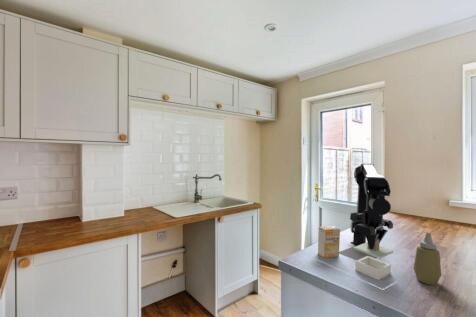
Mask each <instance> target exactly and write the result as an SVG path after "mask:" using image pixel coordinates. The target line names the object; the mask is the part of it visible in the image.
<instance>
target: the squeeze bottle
mask: <svg viewBox="0 0 476 317" xmlns="http://www.w3.org/2000/svg"><path fill="white" fill-rule="evenodd" d="M440 256H441V254H440V251H439V249H437V244H436V242H433V238H432V234H431V232H428V231H427V232H425V236H424V238H423V240H420V241H419V245H418V246H416V251H415V256H414V263H413V271H414V274H415V278H416V280H418V281H419V282H421V283H423V284H426V285H433V286H434V285H437V284H438V283H439V281H440V278H441V277H442V268H441V267H442V266H441V257H440Z"/></svg>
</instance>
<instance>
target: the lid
mask: <svg viewBox="0 0 476 317" xmlns="http://www.w3.org/2000/svg"><path fill="white" fill-rule="evenodd" d="M379 241H380V239H377V241H376V243H375V245H374V248H373V249H370V248H369V245H368V242H367V241H366V243H364V244H361V245H359V246H358V245H355V246H353V247H354V249H355V250H358V251H360V252H363V253H366V254H369V255H371V256H374V257H377V258H376V259H379V260H381V259H383V258H385V257H387V256H389V255H391V254H394V250H392V249H390V248H386V247H383V246H380V243H379Z"/></svg>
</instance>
